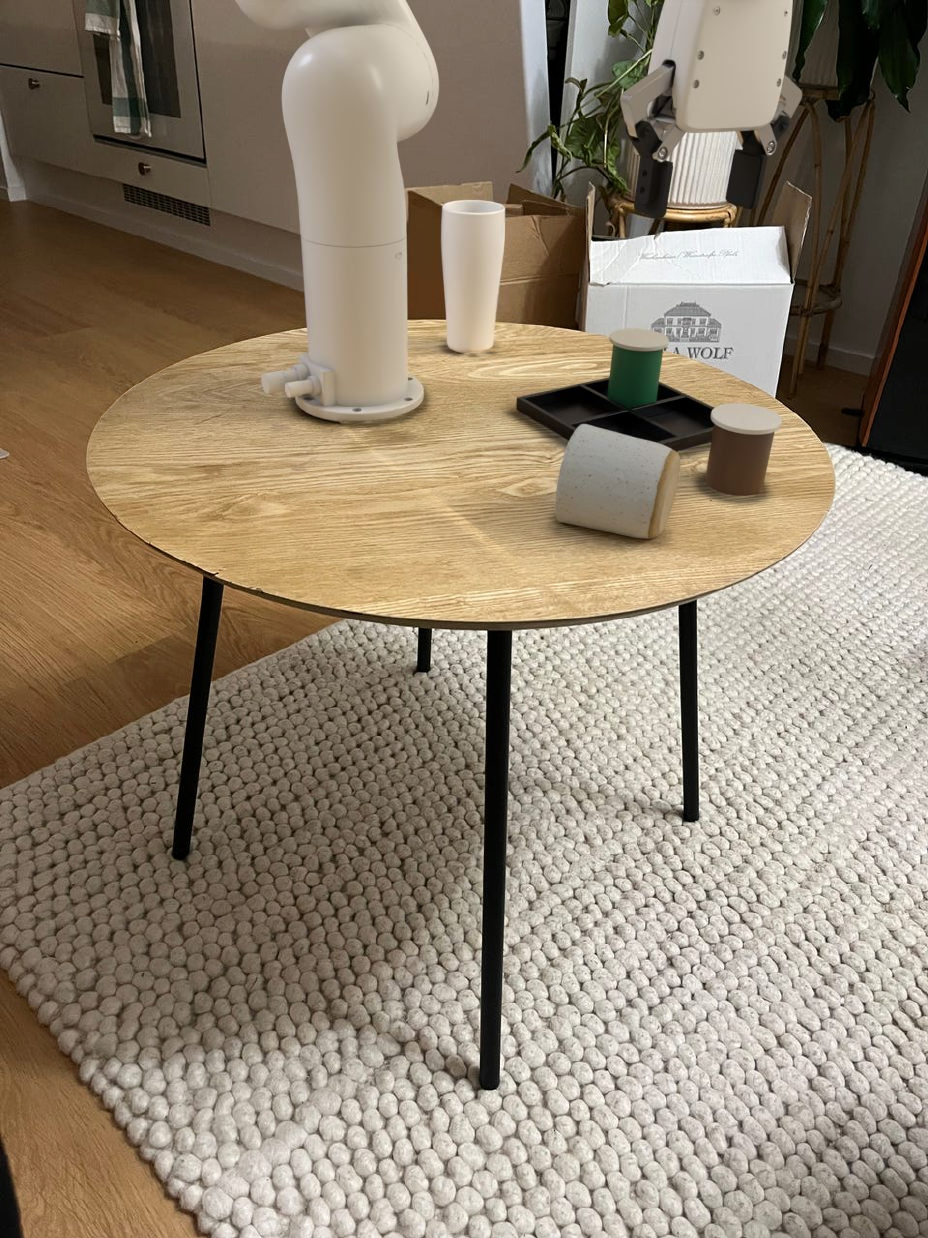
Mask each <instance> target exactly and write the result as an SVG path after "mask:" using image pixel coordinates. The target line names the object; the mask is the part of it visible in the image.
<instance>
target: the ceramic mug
mask: <svg viewBox="0 0 928 1238" xmlns="http://www.w3.org/2000/svg"><path fill="white" fill-rule="evenodd" d="M681 460H682V459H681V457H680V454H679V453H678V452H676V451H675V450H673V449H671V448H669V447H667V446H664V445H662V444H659V443H656V442H652V441H648V440H643V439H639V438H635V437H631V436H628V435H624V434H620V433H617V432H613V431H609V430H606V429H602V428H598V427H594V426H591V425H587V424H581V425H579V427H577V429H576V430H575V432H574V433H573V435H572V437H571V438H570V441H568V443H567V445H566V448H565V450H564V454H563V457H562V461H561V465H560V468H559V472H558V477H557V482H556V489H555V496H554V514H555V515H554V516H555V518H556V520H557V521H558V522H559V523H563V524H566V525H572V526H576V527H581V528H586V529H590V530H595V531H601V532H607V533H612V534H616V535H620V536H625V537H629V538H634V539H646V540H647V539H648V540H652V539H655V538H657V537H659V536H660V535H661V534H662V533H663V531H664V530H665V528H666V524H667V522H668V519H669V517H670V513H671V510H672V507H673V505H674V500H675V496H676V492H677V488H678V484H679V479H680V474H681V473H680V472H681V467H682V466H681V464H682V463H681V462H682V461H681Z"/></svg>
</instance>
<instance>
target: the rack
mask: <svg viewBox="0 0 928 1238" xmlns="http://www.w3.org/2000/svg"><path fill="white" fill-rule="evenodd" d="M609 377H610V376H608V377H603V378H600V379H595V380H590V381H587V382H586V381H585V382H581V383H577V384H571V385H568V386H563V387H559V388H554V389H549V390H544V391H540V392H536V393H531V394H526V395H522V396H518V397H516V404H515V411H516V412H519V413H520V414H522V415H524V416H525V417H527V418H529V419H531V420H533V421H534V422H536V423H537V424H539V425H541V426H542V427H544V428H546V429H548V430H549V431H551V432H553V433H554V434H556V435H558V436H560V437H562V438H563V439H565V440H566V441H568V442H569V441H570V438H571V437H572V435H573V433H574V432H575V430H576V429H577V427H579V425H581V424H587V425H591V426H594V427H598V428H602V429H606V430H609V431H613V432H617V433H620V434H624V435H628V436H631V437H635V438H639V439H643V440H648V441H652V442H656V443H659V444H662V445H664V446H667V447H669V448H671V449H673V450H675V451H676V452H677V453H678V452H682V451H685V450H689V449H692V448H696V447H697V448H698V447H700V446H703V445H707V444H711V441H712V435H713V429H714V424H715V423H713V421H712V420H711V412H712V410H713V409H714V408H715V407H714V406H712V405H710V404H708V403H706V402H705V401H704V402H703V401H701V400H699V399H697V398H695V397H693V396H691V395H689V394H686V393H684V392H682V391H680V390H678V389H676V388H674V387H672V386H670V385H667V384H665V383H663V382H661V381H659V385H658V392H657V399H656V402H652V403H648V404H643V405H639V406H635V407H631V408H627V407H625V406H624V405H622V404H620V403H618V402H616V401H614V400H612V399H610V398H608V397H607V395H608V386H609Z"/></svg>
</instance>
